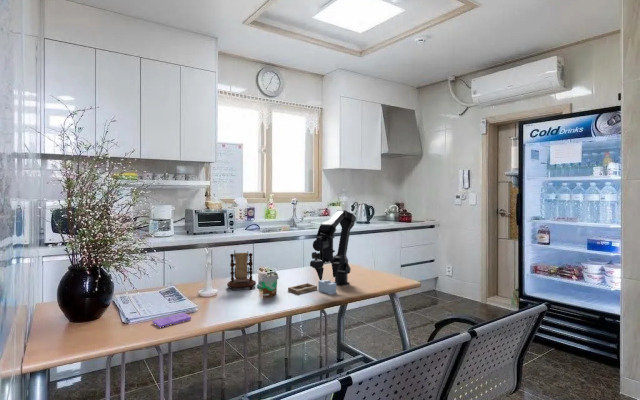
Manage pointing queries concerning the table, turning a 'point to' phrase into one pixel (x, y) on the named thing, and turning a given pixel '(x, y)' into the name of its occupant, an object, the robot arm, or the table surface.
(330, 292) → the key block
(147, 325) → the table surface
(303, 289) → the tan picture frame
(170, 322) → the purple flat block
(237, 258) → the scroll
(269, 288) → the food container
